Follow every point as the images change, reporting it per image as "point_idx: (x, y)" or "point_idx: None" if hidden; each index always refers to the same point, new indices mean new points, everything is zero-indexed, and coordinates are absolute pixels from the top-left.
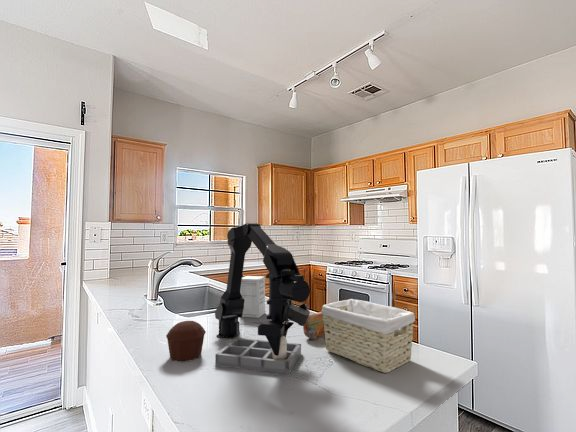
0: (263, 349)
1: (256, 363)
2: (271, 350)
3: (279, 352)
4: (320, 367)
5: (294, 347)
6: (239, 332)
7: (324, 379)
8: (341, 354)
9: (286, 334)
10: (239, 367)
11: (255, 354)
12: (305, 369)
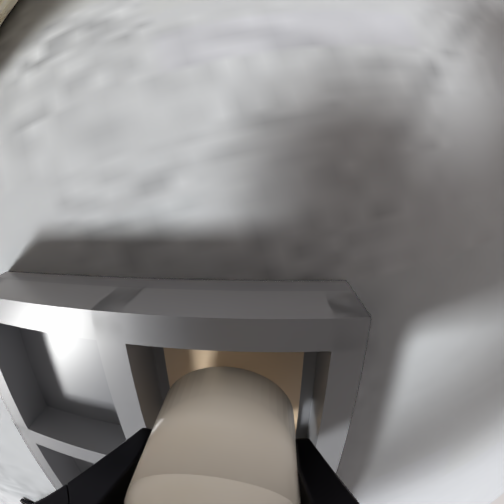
0: None
1: None
2: None
3: (294, 448)
4: (158, 70)
5: (2, 328)
6: (24, 502)
7: (355, 18)
8: (4, 10)
9: (54, 501)
10: None
11: None
12: (226, 172)
